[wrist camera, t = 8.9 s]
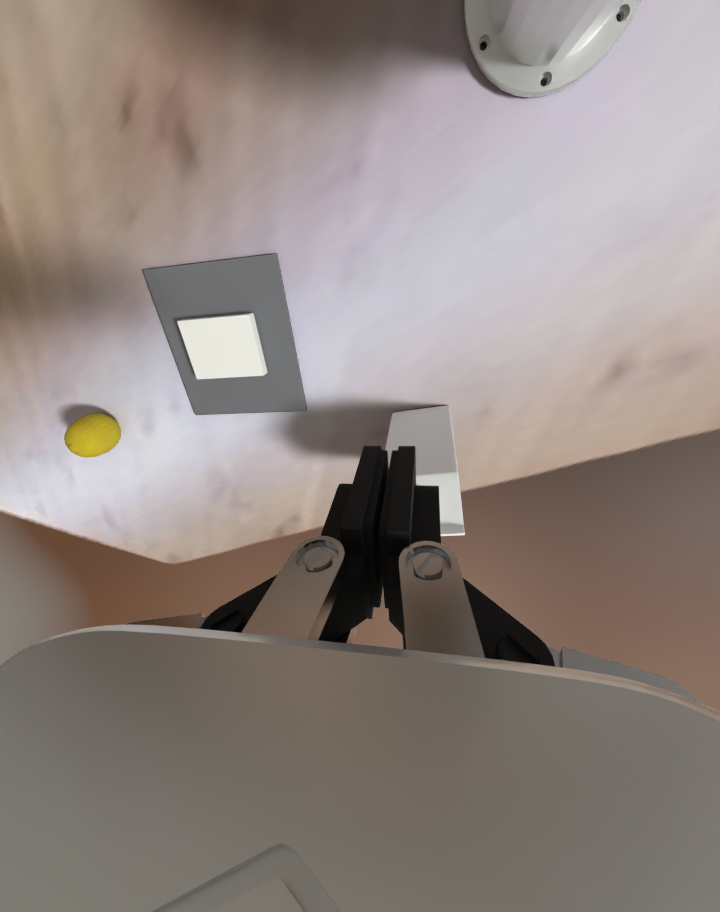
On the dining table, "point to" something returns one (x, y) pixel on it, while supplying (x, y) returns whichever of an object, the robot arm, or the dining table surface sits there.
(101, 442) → the lemon
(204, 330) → the tile
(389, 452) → the milk carton
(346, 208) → the dining table surface
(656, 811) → the robot arm
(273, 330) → the mat
